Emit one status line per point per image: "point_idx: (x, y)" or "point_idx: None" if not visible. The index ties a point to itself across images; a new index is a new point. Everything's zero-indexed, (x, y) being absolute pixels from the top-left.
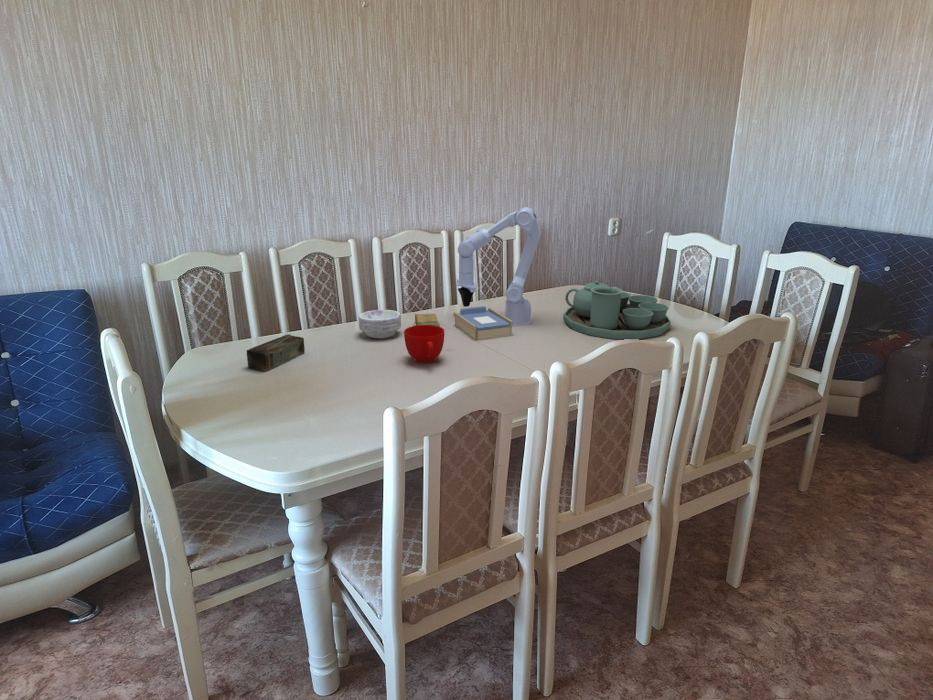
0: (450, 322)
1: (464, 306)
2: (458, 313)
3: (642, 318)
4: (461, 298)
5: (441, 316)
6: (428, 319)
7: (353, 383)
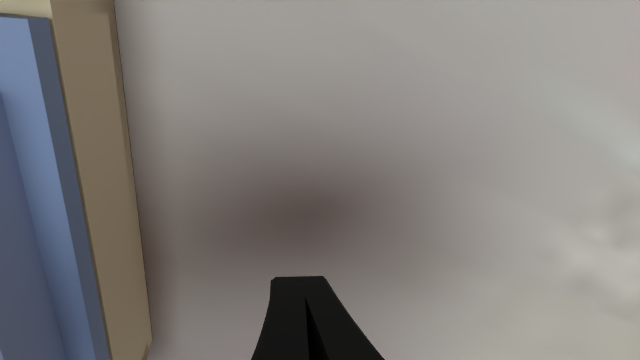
0: (297, 21)
1: (273, 279)
2: (29, 64)
3: None
4: (377, 356)
5: (546, 36)
6: None
7: None
